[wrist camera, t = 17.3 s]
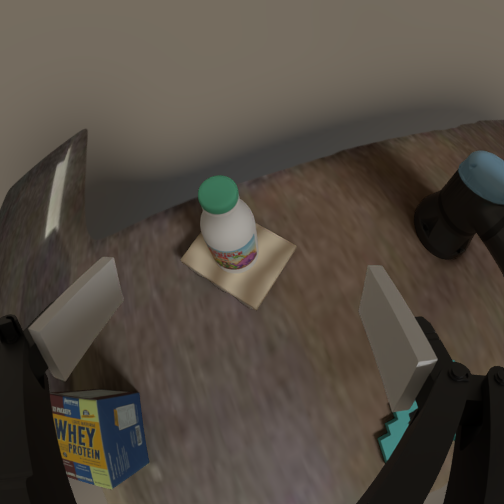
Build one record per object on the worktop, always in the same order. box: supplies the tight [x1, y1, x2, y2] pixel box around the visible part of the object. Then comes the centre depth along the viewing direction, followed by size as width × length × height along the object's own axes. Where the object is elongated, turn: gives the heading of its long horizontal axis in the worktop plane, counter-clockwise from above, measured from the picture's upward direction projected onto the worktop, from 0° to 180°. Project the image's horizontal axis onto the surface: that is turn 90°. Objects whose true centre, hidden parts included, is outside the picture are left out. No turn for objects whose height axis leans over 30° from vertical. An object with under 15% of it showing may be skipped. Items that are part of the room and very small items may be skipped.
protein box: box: [50, 389, 149, 489], centre depth 37 cm, size 10×15×16 cm
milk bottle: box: [198, 175, 259, 274], centre depth 41 cm, size 8×8×20 cm
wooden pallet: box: [181, 223, 296, 311], centre depth 52 cm, size 16×13×4 cm
